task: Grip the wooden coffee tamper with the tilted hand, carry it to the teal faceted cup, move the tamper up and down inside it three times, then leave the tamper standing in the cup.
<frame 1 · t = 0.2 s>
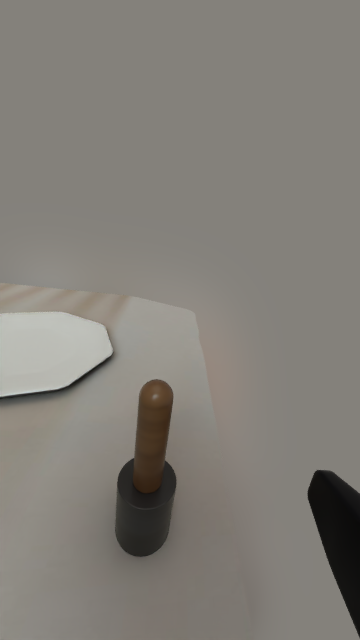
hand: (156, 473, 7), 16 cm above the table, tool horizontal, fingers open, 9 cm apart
coffee tamper: (142, 525, 20), on the table
plate: (27, 352, 40), on the table
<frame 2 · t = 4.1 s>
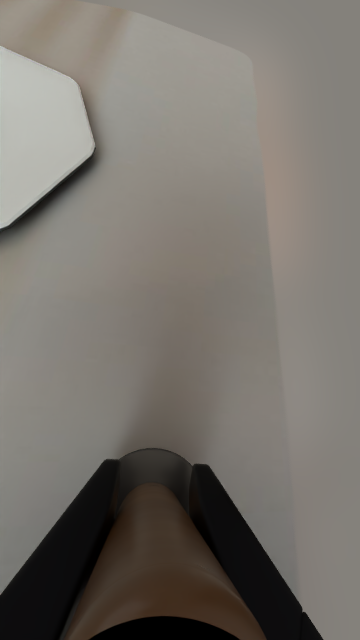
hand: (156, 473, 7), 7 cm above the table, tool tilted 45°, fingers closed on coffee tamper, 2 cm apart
coffee tamper: (148, 495, 13), on the table, touching gripper
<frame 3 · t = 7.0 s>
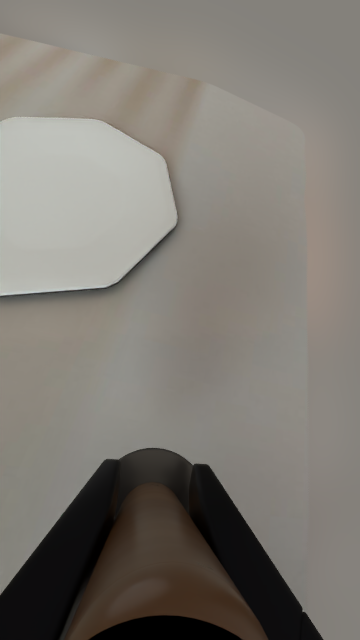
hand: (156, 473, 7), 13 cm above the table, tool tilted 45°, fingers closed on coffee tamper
coffee tamper: (148, 494, 13), point 6 cm above the table, touching gripper
plate: (59, 202, 28), on the table
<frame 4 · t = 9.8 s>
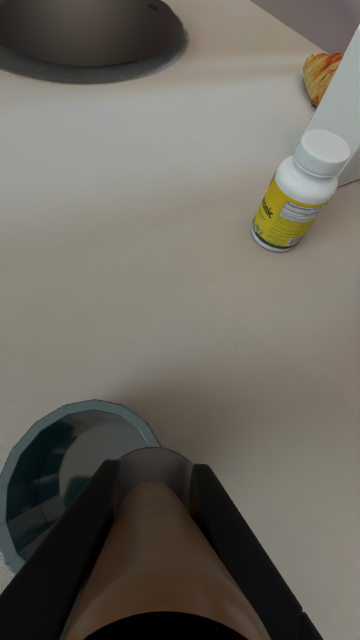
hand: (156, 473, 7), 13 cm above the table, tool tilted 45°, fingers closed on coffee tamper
coffee tamper: (148, 493, 13), point 6 cm above the table, touching gripper
croissant: (338, 111, 43), on the table
teal faceted cup: (99, 476, 18), on the table
supplement bottle: (272, 235, 30), on the table
milk carton: (327, 168, 36), on the table
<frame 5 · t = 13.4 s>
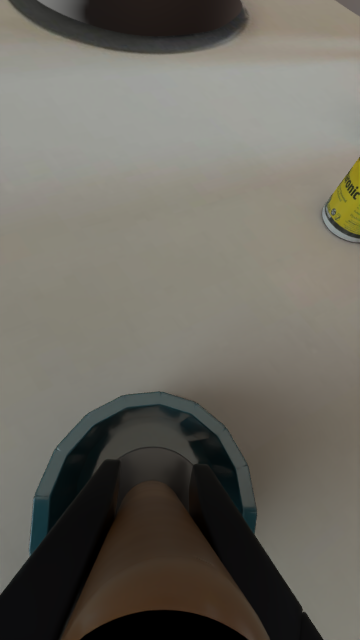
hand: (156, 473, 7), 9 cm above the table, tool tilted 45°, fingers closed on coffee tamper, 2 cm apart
coffee tamper: (148, 493, 13), point 2 cm above the table, touching gripper
teal faceted cup: (147, 487, 15), on the table
supplement bottle: (345, 224, 26), on the table
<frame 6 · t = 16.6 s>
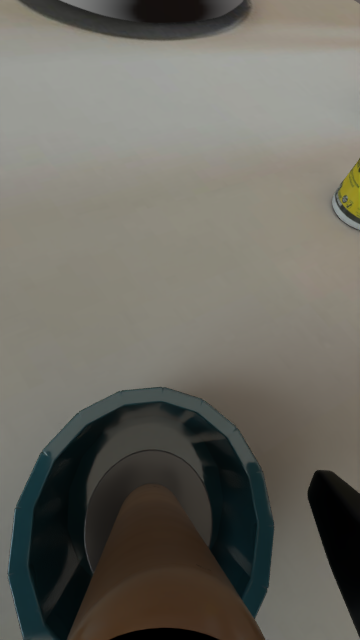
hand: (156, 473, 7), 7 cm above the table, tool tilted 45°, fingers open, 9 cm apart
coffee tamper: (148, 495, 13), resting on teal faceted cup
teal faceted cup: (147, 494, 13), on the table
supplement bottle: (356, 213, 25), on the table
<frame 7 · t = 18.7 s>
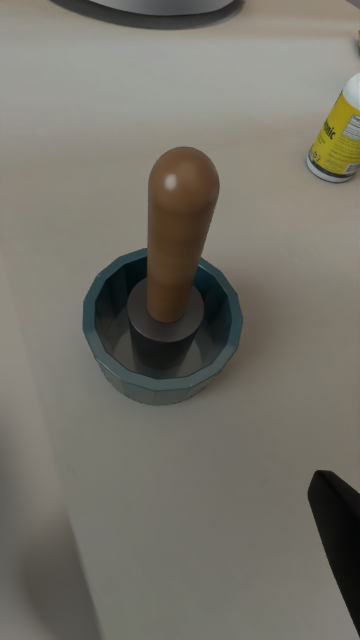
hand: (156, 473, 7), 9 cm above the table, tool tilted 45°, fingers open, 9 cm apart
coffee tamper: (161, 340, 18), resting on teal faceted cup
teal faceted cup: (160, 343, 19), on the table
supplement bottle: (326, 169, 30), on the table
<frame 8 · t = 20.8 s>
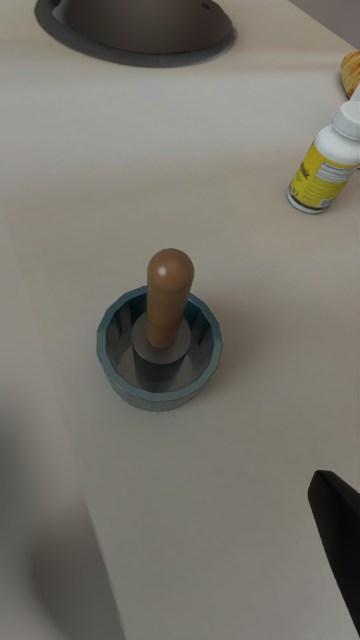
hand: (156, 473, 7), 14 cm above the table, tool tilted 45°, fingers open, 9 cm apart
coffee tamper: (158, 357, 22), resting on teal faceted cup
teal faceted cup: (157, 359, 23), on the table
supplement bottle: (305, 200, 34), on the table
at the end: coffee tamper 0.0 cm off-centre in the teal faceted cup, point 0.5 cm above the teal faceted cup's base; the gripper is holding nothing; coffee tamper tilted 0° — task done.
